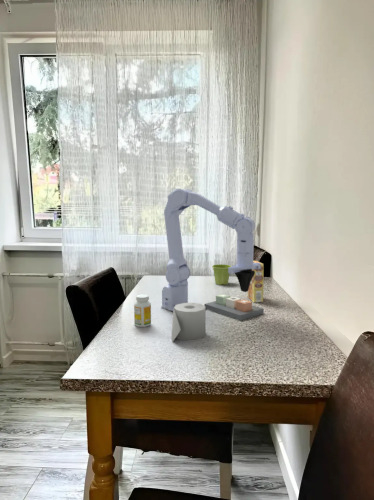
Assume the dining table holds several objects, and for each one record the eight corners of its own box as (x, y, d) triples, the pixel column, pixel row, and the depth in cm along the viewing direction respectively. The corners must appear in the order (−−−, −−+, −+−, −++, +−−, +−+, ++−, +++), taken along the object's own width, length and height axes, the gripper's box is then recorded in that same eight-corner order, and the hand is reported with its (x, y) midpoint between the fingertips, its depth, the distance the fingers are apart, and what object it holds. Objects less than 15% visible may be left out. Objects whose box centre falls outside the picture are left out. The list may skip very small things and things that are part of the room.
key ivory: (233, 308, 129) (233, 300, 128) (225, 306, 132) (225, 298, 131) (240, 306, 131) (240, 298, 131) (233, 304, 134) (233, 296, 134)
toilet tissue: (167, 344, 101) (166, 314, 100) (179, 328, 114) (178, 301, 113) (198, 347, 99) (198, 317, 98) (207, 330, 112) (207, 303, 111)
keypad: (240, 320, 121) (240, 315, 121) (204, 308, 135) (204, 303, 135) (263, 313, 129) (263, 308, 128) (227, 302, 142) (227, 298, 142)
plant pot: (234, 282, 177) (234, 265, 176) (226, 286, 169) (226, 268, 168) (217, 280, 182) (217, 263, 181) (208, 284, 174) (208, 266, 173)
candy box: (263, 302, 143) (264, 264, 141) (253, 302, 142) (254, 264, 140) (256, 296, 151) (257, 260, 149) (246, 296, 151) (247, 260, 149)
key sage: (223, 305, 133) (223, 297, 132) (215, 303, 136) (215, 295, 135) (230, 303, 135) (230, 295, 135) (223, 301, 138) (223, 293, 138)
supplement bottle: (134, 327, 115) (133, 298, 114) (134, 322, 120) (134, 294, 119) (151, 327, 115) (150, 297, 114) (151, 321, 121) (150, 293, 119)
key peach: (244, 312, 125) (244, 303, 124) (236, 309, 128) (236, 301, 127) (251, 310, 127) (252, 301, 127) (243, 307, 130) (243, 299, 130)
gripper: (239, 256, 117) (238, 296, 119) (267, 251, 126) (266, 289, 128) (223, 253, 123) (223, 292, 124) (252, 249, 132) (251, 286, 133)
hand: (244, 291), depth 127 cm, fingers closed
